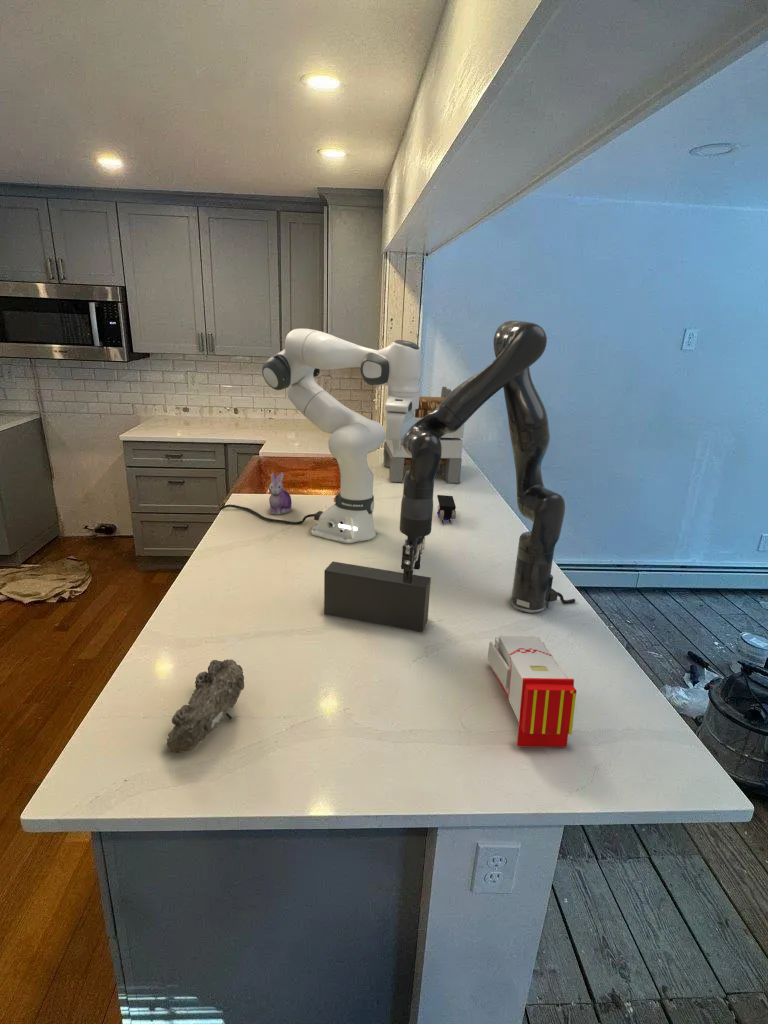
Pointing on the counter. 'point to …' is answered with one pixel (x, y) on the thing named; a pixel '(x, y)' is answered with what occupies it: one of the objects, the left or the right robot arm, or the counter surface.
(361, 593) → the box
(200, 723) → the fossil
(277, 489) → the figurine
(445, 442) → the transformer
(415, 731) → the counter surface
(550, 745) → the toy
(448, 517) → the figurine character
